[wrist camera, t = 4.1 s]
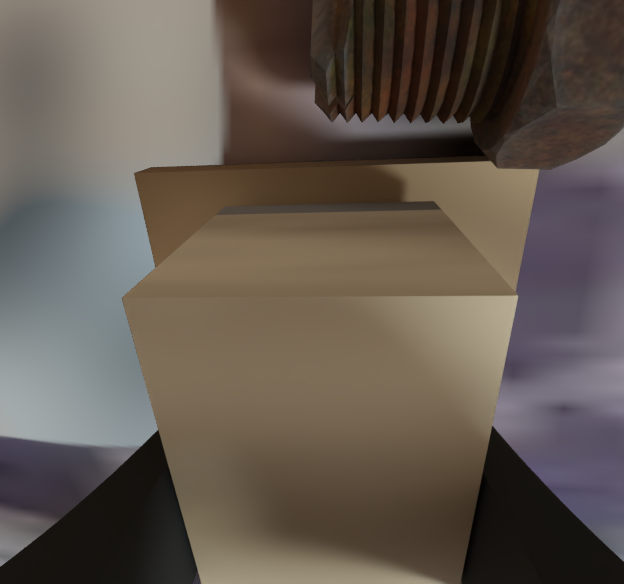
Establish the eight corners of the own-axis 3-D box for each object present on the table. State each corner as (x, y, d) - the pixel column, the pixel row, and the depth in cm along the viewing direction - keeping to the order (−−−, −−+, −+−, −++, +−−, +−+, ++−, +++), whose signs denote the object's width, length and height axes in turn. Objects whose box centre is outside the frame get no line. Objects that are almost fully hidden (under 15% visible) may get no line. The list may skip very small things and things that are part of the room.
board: (454, 544, 17) (461, 569, 16) (227, 533, 18) (221, 557, 17) (524, 154, 10) (541, 159, 9) (151, 167, 11) (133, 173, 10)
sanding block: (410, 472, 13) (443, 665, 9) (261, 468, 14) (219, 649, 9) (434, 201, 9) (518, 296, 5) (224, 206, 10) (121, 298, 5)
